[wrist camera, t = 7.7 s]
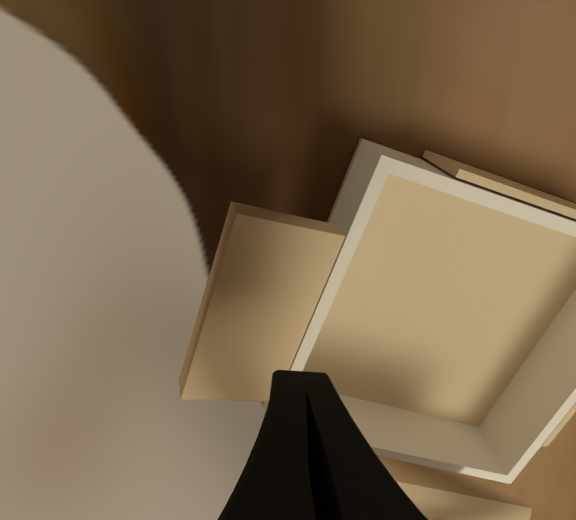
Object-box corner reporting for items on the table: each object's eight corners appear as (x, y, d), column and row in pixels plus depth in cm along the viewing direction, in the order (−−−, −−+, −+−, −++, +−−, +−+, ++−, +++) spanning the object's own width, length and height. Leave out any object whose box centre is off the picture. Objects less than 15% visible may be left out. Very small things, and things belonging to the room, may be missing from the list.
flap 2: (531, 508, 17) (528, 535, 17) (469, 475, 20) (466, 497, 20) (357, 473, 15) (351, 502, 15) (324, 444, 19) (320, 468, 19)
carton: (632, 223, 19) (703, 255, 16) (484, 430, 25) (517, 485, 21) (364, 127, 17) (386, 143, 14) (264, 379, 22) (264, 432, 19)
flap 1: (237, 213, 13) (231, 201, 13) (180, 399, 15) (178, 379, 16) (345, 236, 14) (333, 224, 15) (275, 401, 17) (269, 383, 18)
